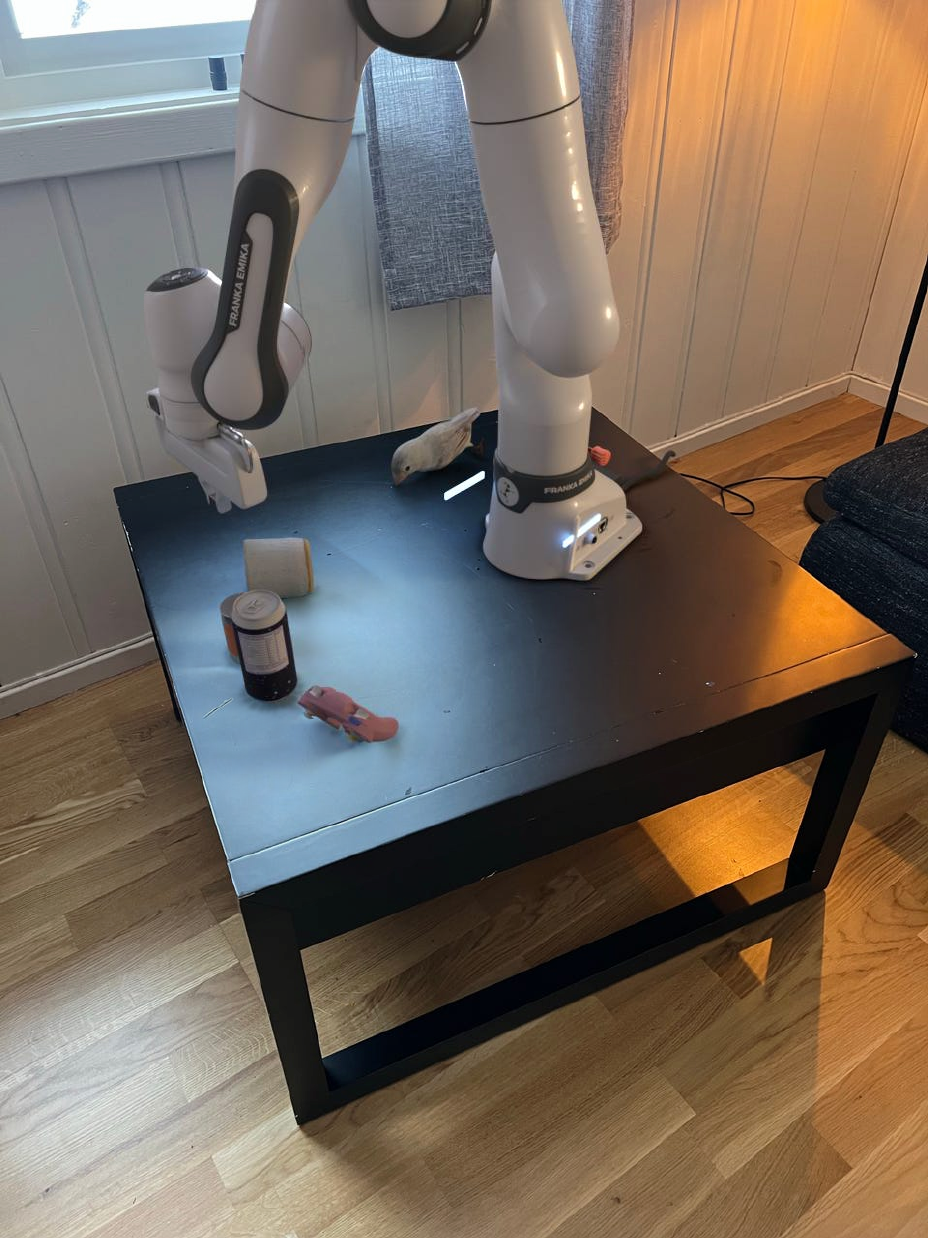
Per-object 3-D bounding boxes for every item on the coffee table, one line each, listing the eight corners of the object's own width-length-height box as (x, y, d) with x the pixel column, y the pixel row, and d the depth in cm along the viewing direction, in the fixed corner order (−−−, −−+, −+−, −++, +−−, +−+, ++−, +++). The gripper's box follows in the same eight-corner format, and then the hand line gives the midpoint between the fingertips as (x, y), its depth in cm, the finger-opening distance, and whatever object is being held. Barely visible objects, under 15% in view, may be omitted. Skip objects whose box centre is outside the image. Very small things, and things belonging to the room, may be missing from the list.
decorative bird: (383, 479, 138) (380, 433, 133) (466, 445, 146) (466, 400, 141) (405, 493, 135) (403, 447, 130) (489, 458, 143) (489, 413, 138)
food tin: (256, 634, 110) (247, 586, 106) (278, 653, 107) (270, 605, 103) (221, 651, 108) (211, 604, 103) (243, 672, 105) (233, 624, 101)
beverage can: (308, 683, 103) (296, 597, 96) (275, 714, 100) (260, 627, 92) (269, 666, 106) (253, 581, 98) (235, 695, 102) (216, 609, 94)
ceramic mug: (318, 605, 114) (311, 553, 110) (250, 615, 113) (241, 562, 108) (309, 558, 122) (303, 507, 118) (246, 566, 121) (237, 515, 116)
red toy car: (310, 726, 100) (283, 701, 94) (333, 690, 102) (307, 663, 96) (383, 764, 96) (359, 740, 90) (405, 726, 98) (384, 701, 92)
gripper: (271, 431, 107) (285, 531, 116) (183, 375, 119) (202, 470, 128) (223, 449, 104) (241, 551, 113) (138, 389, 116) (160, 485, 125)
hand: (220, 507), depth 120 cm, fingers closed
